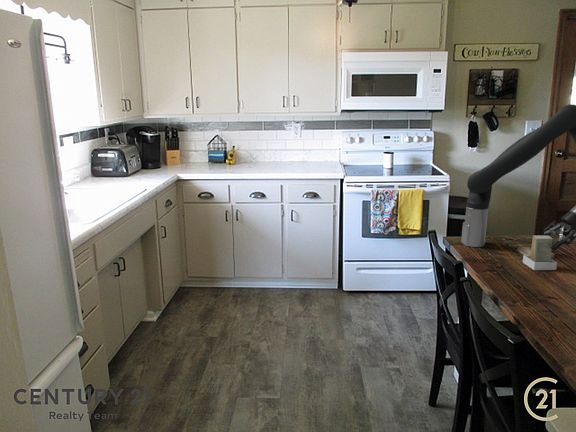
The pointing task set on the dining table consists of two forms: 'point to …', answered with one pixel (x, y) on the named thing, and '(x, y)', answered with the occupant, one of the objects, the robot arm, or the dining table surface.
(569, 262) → the dining table surface
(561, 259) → the dining table surface
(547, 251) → the skincare box
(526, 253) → the birch board
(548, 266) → the gray square frame
